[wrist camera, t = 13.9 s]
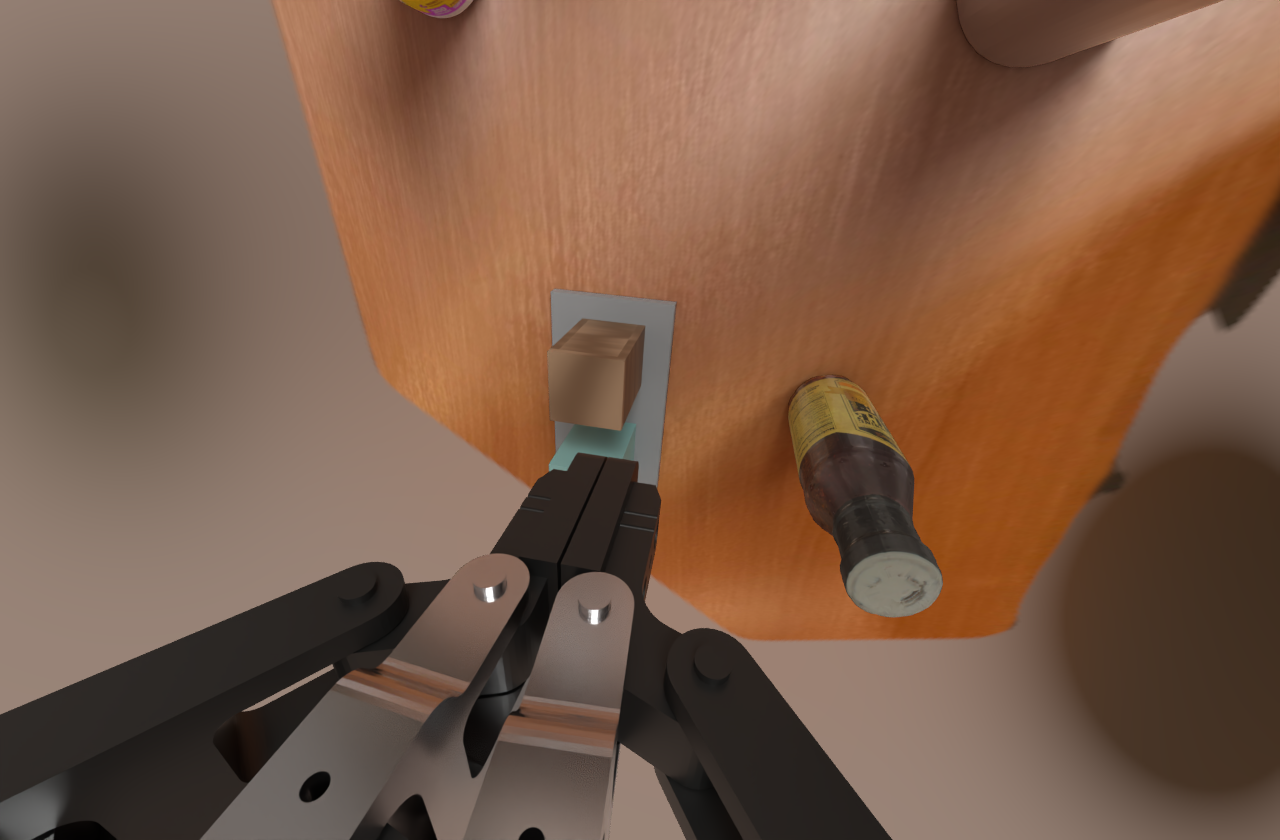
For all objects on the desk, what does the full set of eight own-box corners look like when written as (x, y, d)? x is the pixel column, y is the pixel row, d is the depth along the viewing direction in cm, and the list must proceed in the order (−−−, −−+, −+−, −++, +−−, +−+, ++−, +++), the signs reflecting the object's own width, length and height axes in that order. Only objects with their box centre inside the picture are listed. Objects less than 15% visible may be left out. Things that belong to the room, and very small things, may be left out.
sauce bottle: (876, 419, 37) (999, 626, 20) (803, 447, 40) (856, 655, 23) (846, 352, 35) (954, 521, 18) (770, 387, 38) (802, 564, 21)
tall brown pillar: (645, 325, 36) (624, 361, 29) (641, 385, 39) (621, 430, 32) (582, 318, 37) (547, 351, 30) (582, 377, 39) (549, 420, 32)
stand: (676, 301, 36) (660, 337, 28) (657, 485, 45) (641, 551, 37) (555, 288, 37) (507, 318, 29) (559, 469, 46) (524, 530, 38)
